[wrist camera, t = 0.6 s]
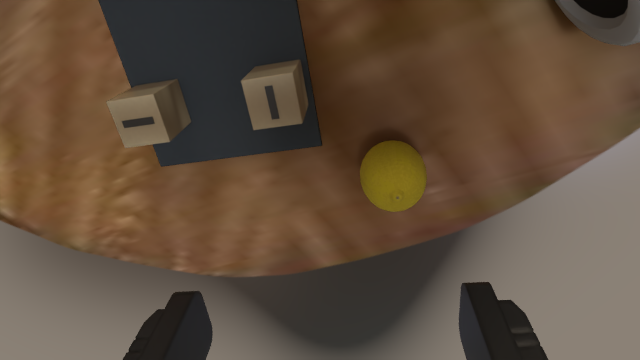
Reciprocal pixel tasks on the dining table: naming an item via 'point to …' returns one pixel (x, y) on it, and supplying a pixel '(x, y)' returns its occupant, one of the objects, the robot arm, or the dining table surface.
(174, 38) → the word mat
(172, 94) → the letter block row
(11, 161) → the dining table surface
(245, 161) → the dining table surface
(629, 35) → the alarm clock
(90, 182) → the dining table surface
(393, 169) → the lemon
